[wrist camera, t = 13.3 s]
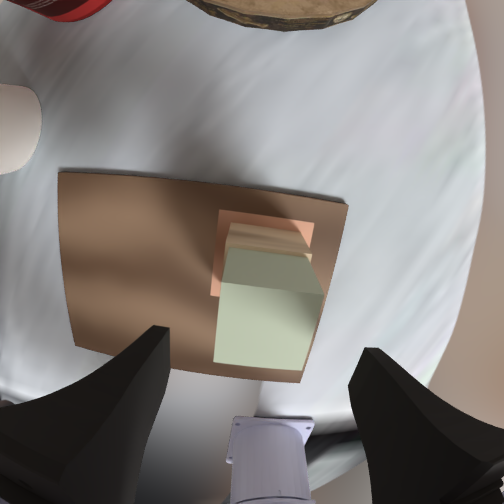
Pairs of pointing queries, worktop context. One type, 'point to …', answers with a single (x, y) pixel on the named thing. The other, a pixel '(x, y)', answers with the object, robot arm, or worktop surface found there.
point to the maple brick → (266, 241)
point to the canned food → (63, 8)
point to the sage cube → (266, 310)
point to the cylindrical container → (18, 126)
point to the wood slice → (284, 12)
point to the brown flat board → (172, 259)
